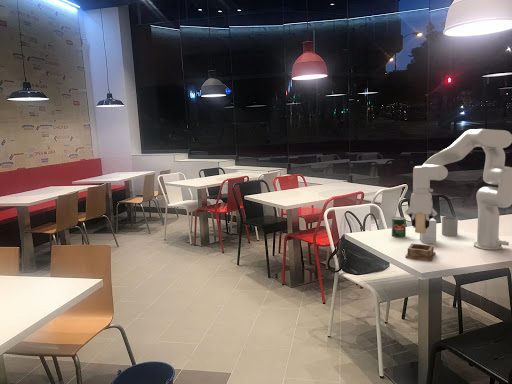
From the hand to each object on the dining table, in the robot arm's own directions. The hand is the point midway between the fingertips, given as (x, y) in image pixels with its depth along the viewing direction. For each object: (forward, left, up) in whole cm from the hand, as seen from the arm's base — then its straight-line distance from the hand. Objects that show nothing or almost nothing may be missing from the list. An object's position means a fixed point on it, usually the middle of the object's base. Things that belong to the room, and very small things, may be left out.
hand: (420, 227), depth 194 cm
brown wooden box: (0, 0, -15) cm, 15 cm away
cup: (-8, -49, -15) cm, 52 cm away
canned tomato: (+18, -35, -15) cm, 42 cm away
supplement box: (+1, -29, -15) cm, 33 cm away
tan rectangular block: (0, 0, -2) cm, 2 cm away
